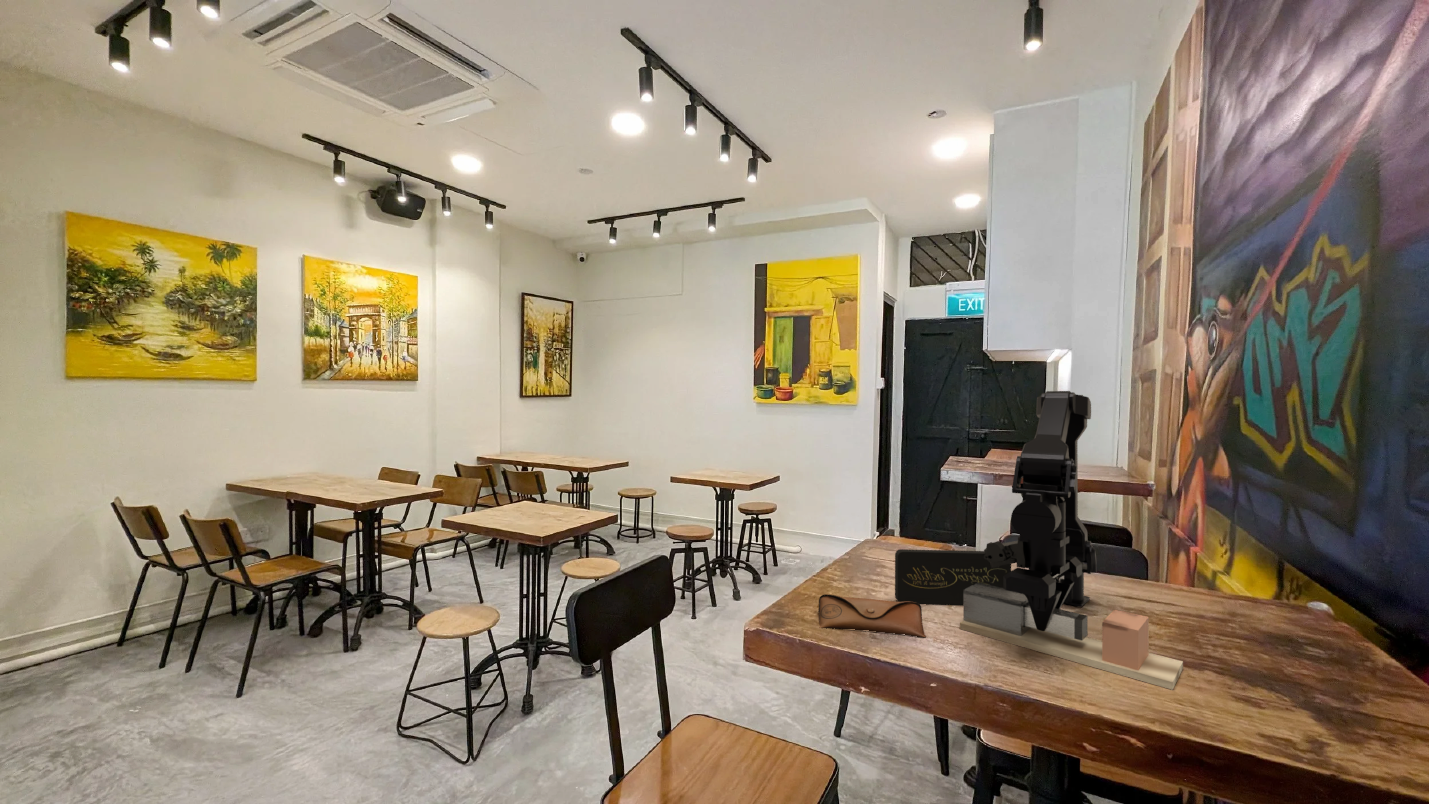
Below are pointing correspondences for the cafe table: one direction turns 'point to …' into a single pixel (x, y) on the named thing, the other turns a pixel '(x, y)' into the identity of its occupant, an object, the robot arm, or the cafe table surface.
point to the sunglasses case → (870, 615)
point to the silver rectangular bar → (1060, 623)
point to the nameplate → (942, 575)
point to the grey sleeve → (995, 608)
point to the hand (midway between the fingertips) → (1044, 627)
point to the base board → (1086, 653)
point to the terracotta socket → (1125, 639)
